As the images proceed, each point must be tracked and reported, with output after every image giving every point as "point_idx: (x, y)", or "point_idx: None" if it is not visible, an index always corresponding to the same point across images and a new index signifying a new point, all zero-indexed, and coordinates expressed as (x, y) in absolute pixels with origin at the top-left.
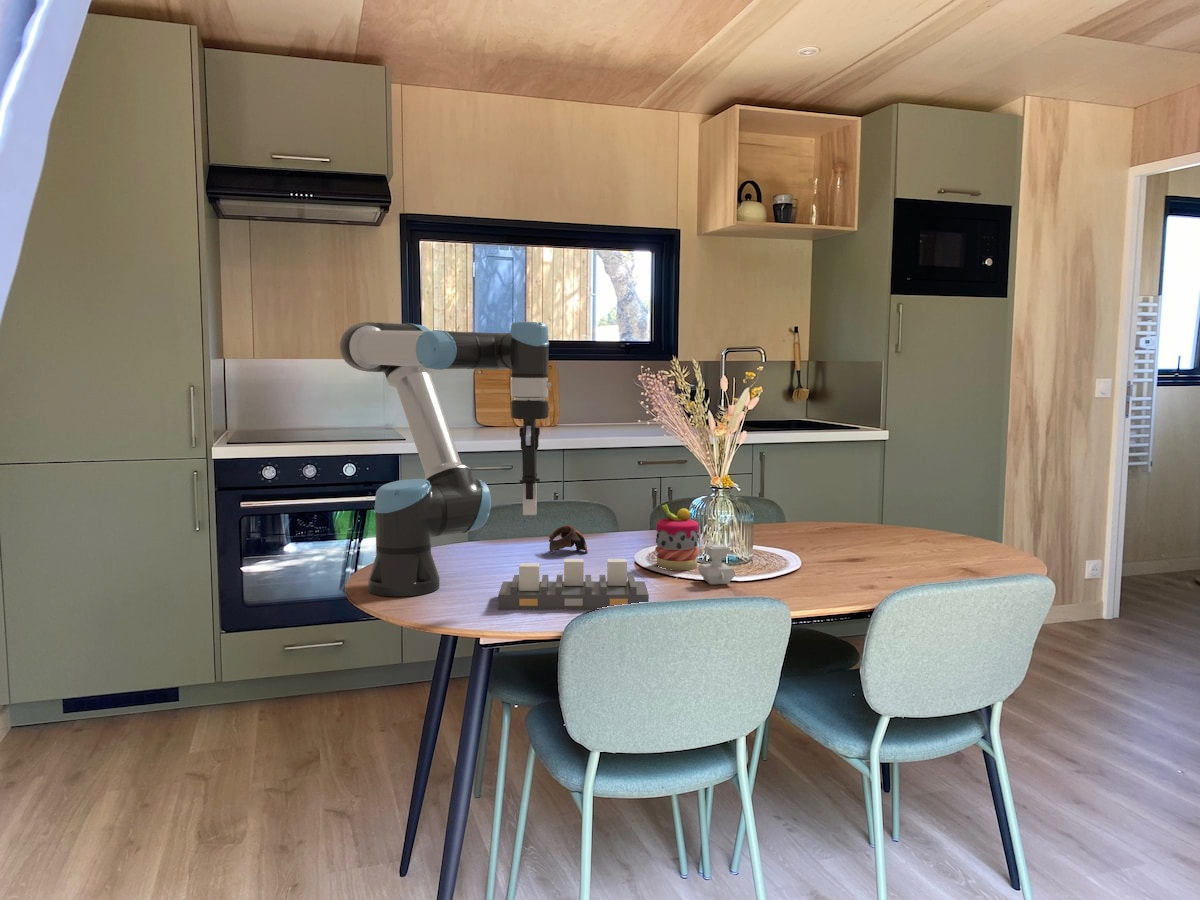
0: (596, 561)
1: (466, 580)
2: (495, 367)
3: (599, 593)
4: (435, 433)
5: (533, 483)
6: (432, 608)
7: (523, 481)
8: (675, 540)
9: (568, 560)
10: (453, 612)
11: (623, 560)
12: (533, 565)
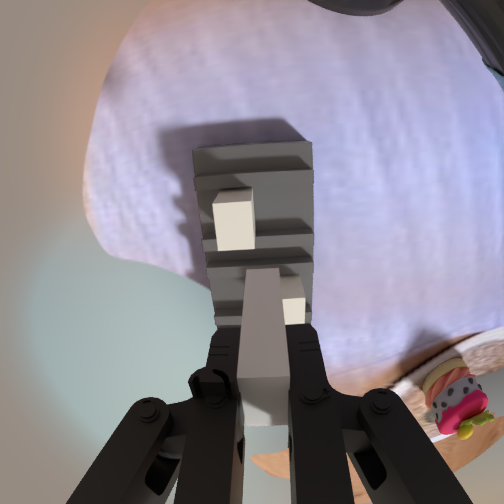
0: (499, 285)
1: (418, 65)
2: None
3: (225, 327)
4: None
5: (245, 417)
6: (198, 28)
7: (194, 395)
8: (439, 407)
9: (287, 306)
10: (173, 71)
11: None
12: (227, 237)
